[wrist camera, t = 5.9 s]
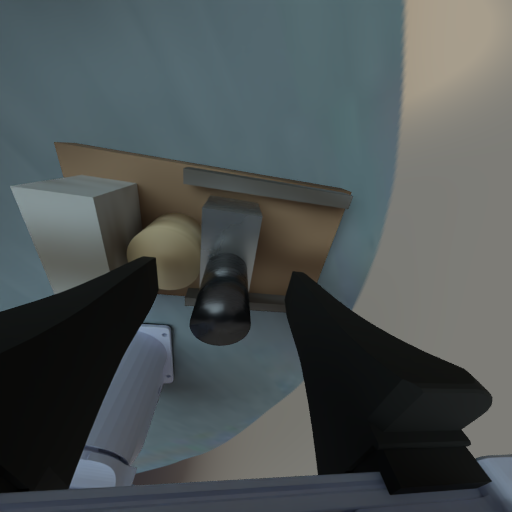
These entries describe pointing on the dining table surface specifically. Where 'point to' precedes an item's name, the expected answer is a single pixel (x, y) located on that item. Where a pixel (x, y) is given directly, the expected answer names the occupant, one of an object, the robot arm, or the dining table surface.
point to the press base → (171, 201)
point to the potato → (170, 249)
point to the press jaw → (226, 270)
